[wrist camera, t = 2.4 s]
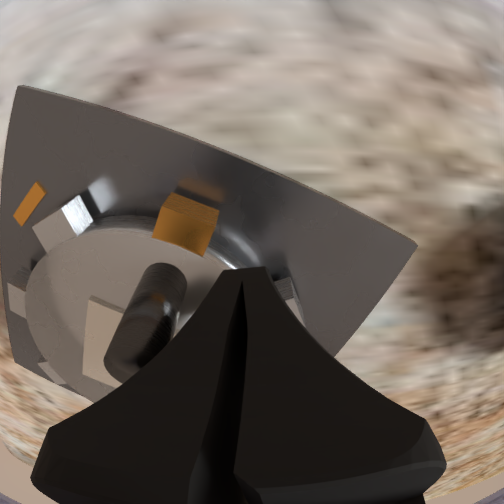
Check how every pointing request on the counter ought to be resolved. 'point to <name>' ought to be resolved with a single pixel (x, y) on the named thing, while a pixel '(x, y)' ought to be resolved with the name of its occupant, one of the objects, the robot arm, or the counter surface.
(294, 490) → the robot arm
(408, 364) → the counter surface
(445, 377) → the counter surface
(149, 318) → the sprocket
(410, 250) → the plate
